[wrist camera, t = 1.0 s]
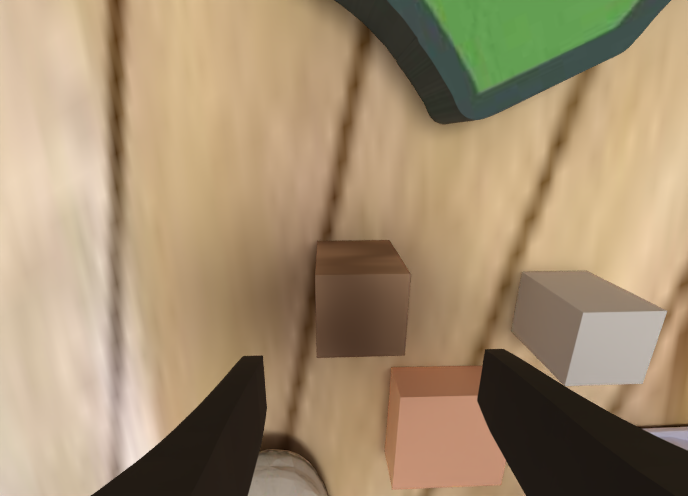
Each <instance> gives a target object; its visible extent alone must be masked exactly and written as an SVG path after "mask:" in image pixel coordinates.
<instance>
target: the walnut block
mask: <svg viewBox="0 0 688 496" xmlns="http://www.w3.org/2000/svg"><path fill="white" fill-rule="evenodd" d="M410 279H411V273H410V272H409V270H408V269H407V267H406V265H405V264H404V262H403V261H402V259H401V258H400V256H399V255H398V253H397V251H396V250H395V248H394V247H393V245H392V244H391V242H390V241H389V240H361V241H317V256H316V270H315V295H316V345H317V358H329V357H366V356H403V355H405V347H406V333H407V320H408V306H409V292H410Z"/></svg>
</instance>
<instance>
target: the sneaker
mask: <svg viewBox="0 0 688 496" xmlns="http://www.w3.org/2000/svg"><path fill="white" fill-rule="evenodd" d="M248 496H328V494H327V491H326V487H325V486H324V484H323V482H322V480H321V479H320V478H319V475H318V473H317V471H316V470H315V468H314V467H313V466H312V465H311V463H310V462H309V461H307V460H306V459H305V458H303V457H302V456H301V455H300V454H297V453H294V452H291V451H288V450H276V449H267V450H264V451H260V452H259V455H258V459H257V463H256V467H255V470H254V474H253V478H252V482H251V486H250V489H249V493H248Z"/></svg>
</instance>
